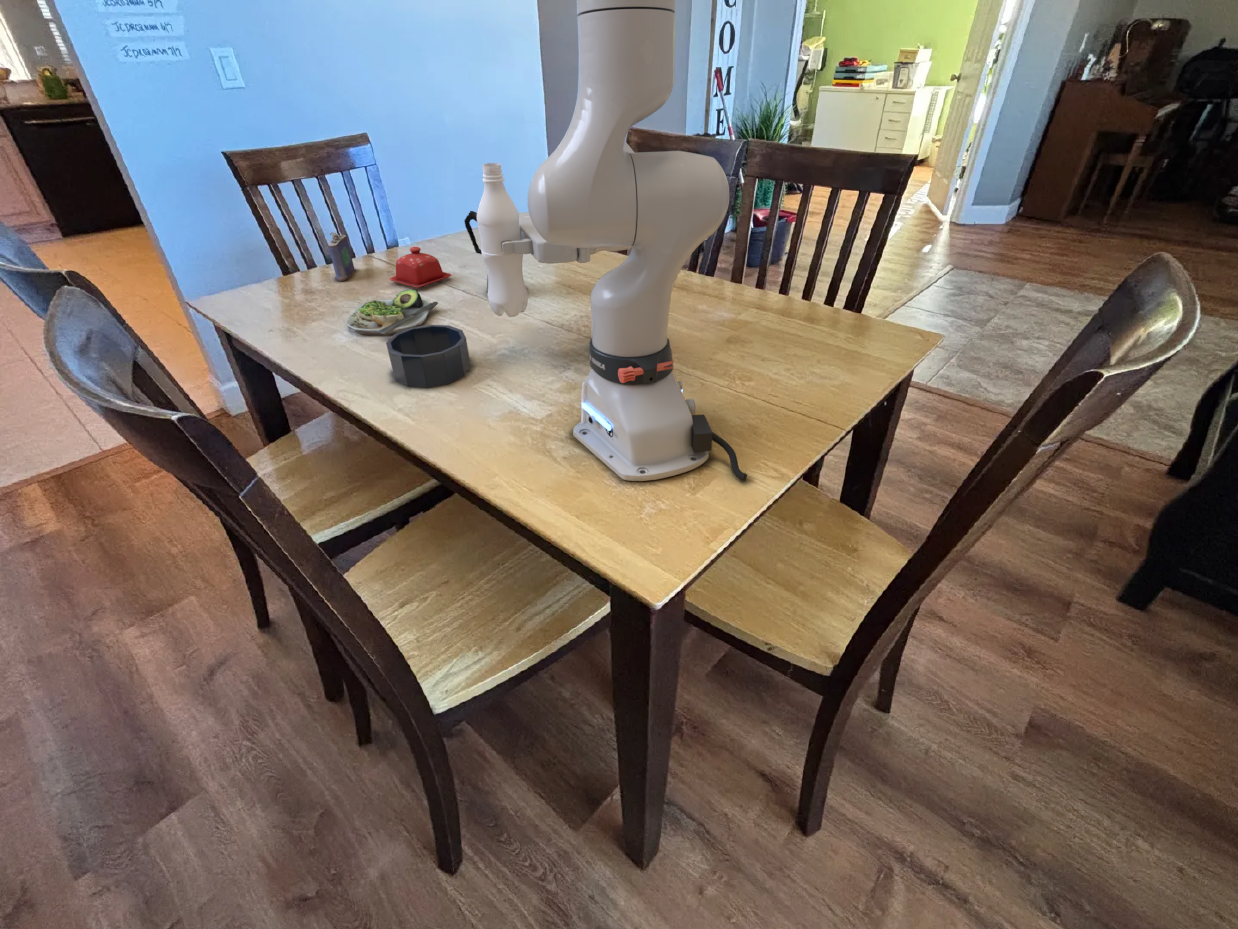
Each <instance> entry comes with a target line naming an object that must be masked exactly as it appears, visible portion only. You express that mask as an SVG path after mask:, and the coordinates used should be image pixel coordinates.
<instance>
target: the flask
mask: <svg viewBox="0 0 1238 929" xmlns="http://www.w3.org/2000/svg"><path fill="white" fill-rule="evenodd" d="M329 235H331V240H330V241H329V243H328V244H327V247H328V252H329V255H330V258H331V261H332V262H331V263H332V265H333V269H334V274H335V277H336V281H337V282H345V281H347V280H349V278H350V277H351V275H353V274H354V272H356V270H355V265H354V261H353V257H352V253H351V249H350V244H349V240H348V236H347V235H345V234H339V233H337V232H335V231H334V232H333V231H331V232H329Z"/></svg>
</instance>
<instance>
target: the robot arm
mask: <svg viewBox="0 0 1238 929" xmlns="http://www.w3.org/2000/svg"><path fill="white" fill-rule="evenodd" d="M576 16H577V19H576V20H577V34H578V36H577V39H578V40H577V41H578V78H577V79H578V80H577V95H576V102H575V106H574V111H573V115H572V118H571V121H570V122H569V125H568V128H567V129H566V132H565V134H564V136H563V137H562V139H561V141H560V143H559V144H558V145H557V147H556V148H555V150H553V152H552V153H551V154H550V155H549V156H548V157H547V158H546V159H545V160H544V161H543V162H541V163H540V165H538V167H537V168H536V170H535V171H534V173H533V175H532V177H531V179H530V182H529V185H528V188H527V189H528V190H527V198H526V199H527V209H528V211H524V212H518V214H519V218H520V219H519V225H520V234H521V240H520V241H511V240H507V241H502V242H501V249H502V251H503V252H504V253H505V254H509V253H519V254H523V255H531V256H532V257H533V258H534V259H535V260H536V261H537V262H538V263H540V264H546V265H552V264H565V263H572V262H577V263H579V264H586V263H590V262H591V256H593V255H596V254H597V253H599V252H600V253H601V252H612V253H613V252H621V251H626V250H631V251H630V253H629V254H628V256H627V257H626V258H625V259H624V261H623V262H622V263H621V264H619V265H617V266H616V267H613V268H612V269H611V270H608V271H607V272H606V273H604V274H603V275H602V276H601V277H599V279H598V280H597V281H596V283H595V284H594V285H593V288H592V289H591V292H590V296H589V300H590V301H589V302H590V304H589V305H590V325H591V338H590V339H589V341H588V359H589V366H590V370H589V372H588V374H587V375H586V376H587V377H586V378H585V379H584V381H583V382H582V384H581V400H580V401H581V403H580V406H581V407H580V416H581V417H580V421H579V422H578V423H576V425H575V426H574V427H573V430H572V431H573V432H572V436H573V437H574V438H575V439H576V440H577V441H578V442H579V443H581V444H582V445H583V446H584V447H585V448H586V449H588V451H590V452H591V453H592V454H593V455H594V456H595V457H596V458H597V459H599V461H601V462H602V463H604V464H605V466H606V467H608V468H609V469H610V470H611V471H612V472H613V473H615V474H616V475H617V476H618V477H619V478H620V479H622V480H624V481H632V482H645V481H647V482H649V481H655V480H661V479H665V478H670V477H674V476H677V475H681V474H684V473H686V472H687V473H688V472H689V471H692V470H694V469H697V468H698V467H700V466H701V465H703V464H704V463H706V462H707V461H708V459H709V458H710V457H709V452H712V449H713V442H714V443H715V444H717V445H718V446H720V447H721V448H722V449H723V450H724V451H725V452H726V454H727V455H728V457H729V462H730V463H729V464H730V468H731V471H732V473H733V475H734V476H735V477H736V478H737V479H740V480H742V481H746V479H747V478H748V474H747V473H745V472H742V470H741V469H740V466H739V463H738V458H737V454H736V451H735V450H734V448H733V447H732V446H731V444H729V443H728V442H727V441H726V440H725V439H723V438H722V437H721V436H719V435H718V434H717V433H715V432H714V431H713V430H712V428H711V426H710V424H709V422H708V420H707V417H706V415H705V414H703V413H702V414H696V412H697V408H696V407H697V406H696V402H695V399H693V398H687V399H685V398H686V397H685V396H684V392H683V390H684V388H683V386H684V385H683V381H682V380H678V379H677V377H676V374H675V373H674V360H673V350H672V347H671V340H670V338H669V337H668V336H669V335H668V334H669V318H670V308H671V302H672V301H671V300H672V295H673V291H674V286H675V283H676V281H677V279H678V276H679V274H680V273H681V270H682V268H683V267H684V265H685V264H686V262H687V260H688V259H689V258H690V256H691V255H692V254H693V253H694V251H695V250H697V248H698V247H699V246H700V245H701V244H702V243H703V242H705V240H707V239H708V238H710V237H711V236H712V235H713V234H715V233H716V231H718V229H719V228H720V226H721V225H722V223H723V221H724V219H725V218H726V216H727V212H728V210H729V209H728V208H729V204H730V185H729V181H728V178H727V175H726V173H725V171H724V169H723V167H722V165H720V162H719V161H717V159H716V158H715V157H713V156H709V155H704V154H701V153H700V154H699V153H695V152H689V151H682V150H667V151H644V152H642V151H641V152H635V151H634V150H633V148H632V147H631V146H630V144H628V143H627V141H626V137H627V135H628V133H629V130H630V129H631V128H632V127H633V126H635V125H637V124H638V123H640V122H642V121H644V120H645V119H646V118H647V119H648V117H650V116H652V115H653V114H654V113H655V112H657V111H658V110H660V109H662V108H663V106H664V105H665V104H666V103H667V101H668V100H669V98H670V96H671V94H672V92H673V89H674V85H675V52H676V51H675V47H676V46H675V45H676V44H675V41H676V39H675V38H676V0H576Z"/></svg>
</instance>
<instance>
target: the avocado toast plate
mask: <svg viewBox="0 0 1238 929" xmlns="http://www.w3.org/2000/svg"><path fill="white" fill-rule="evenodd" d="M395 296H396V297H394V298H393V299H374V300H371V301H367V302H364V303H361V304H360V305H358V306H356V307H355V309H354V310H353V312H352V313H351V315H350V316H349V317H348V319H347V320H346V323H345V325H346V327H347V328H348V329H350V330H352V331H354V332H356V333H359V334H361V335H365V336H383V335H385V336H390V335H395V334H396V333H399V332H402V331H404V330H407V329H409V328H413V327H419V326H421V325H422V324H423V323H424V322H425V321H426V319H427V316H428V315H429V314H430V313H431V311H433V309H435V307H437V306H438V305H439V302H438V301H433V302H429V301H428V300H426V299H422V296H421V294H420V293H419V291H417V290H416V289H404V290H401V291H400V292H399V293H397V294H396V295H395Z"/></svg>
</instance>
